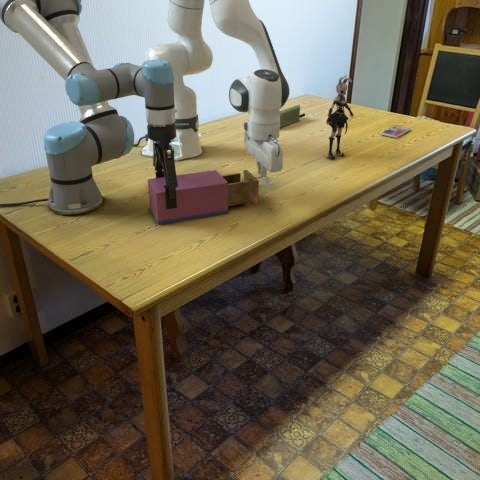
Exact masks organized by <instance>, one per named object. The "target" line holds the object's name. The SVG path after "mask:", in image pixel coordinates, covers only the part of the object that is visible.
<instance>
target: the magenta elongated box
mask: <svg viewBox="0 0 480 480" xmlns="http://www.w3.org/2000/svg"><path fill="white" fill-rule="evenodd" d="M221 175H222V174H221V173H220V172H218V170H217V169H213V170H205V171H198V172H197V171H196V172H191V173H183V174H176V176H177V184H178V187H176V203H177V208H173V209H167V208H166V194H165V188H164V186H166V182H165V177H159V178H156V177H151V178H147V188H148V197H149V198H148V202H149V210H150V212H151V214H152V216H153V217H154V220H155V221H156V223H157V224H158V225H163V224H164V225H165V224H170V223H176V222H182V221H187V220H188V221H189V220H193V219H200V218H201V219H202V218H206V217H213V216H218V215H219V216H220V215H225V214H229V206H228V182H227V181H226V180H225V179H224V178H223V177H222V176H221Z"/></svg>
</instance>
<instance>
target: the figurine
mask: <svg viewBox="0 0 480 480" xmlns="http://www.w3.org/2000/svg"><path fill="white" fill-rule="evenodd" d="M347 76H348V75H347V74H345V75H344V76H341V77H340V78H339V79H338V83H337V84H336V87H335V91H336V93H337V96H335V97H334V99H333V102H332V104H331V106H330V107H329V110H328V113H327V118H326V122H325V124H326V125H327V126H330V127H331V133H330V136H328V139H329V145H328V146H329V149H328V152H327V158H329V159H330V160H335V159H336V157H335V155H338V156H339V157H344V156H345V153H344V152H342V151H341V149H340V146H341V145H340V144H341V138H342V136H343V135H342V133H343V129H344V128H345V130H344V135H347V132H348V128H349V125H348V120H349V118H354V113H353V111H352V110H351V107H350V106H349V105H348V101H347V100H346V95H347V90H348V85H347V82H349V83H351V84H352V83H353V81H352V79H351V77H347ZM334 107H336V110H334ZM345 109H347V111H348V112H349V117H348V116H347V115H346V111H345ZM333 110H334V112H333ZM334 141H336V149H335V155H334V153H333V145H334Z"/></svg>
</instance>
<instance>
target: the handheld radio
mask: <svg viewBox="0 0 480 480" xmlns="http://www.w3.org/2000/svg"><path fill="white" fill-rule="evenodd" d="M279 116H280V128H281V129H282V128H283V127H286V126H289V125H291V124H294V123H296V122H298V121H300V118H303V117H305V116H306V113H301V105H300V104H296V105H294V106H291V107H288V108H285V109H283V110H280V111H279Z"/></svg>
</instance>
